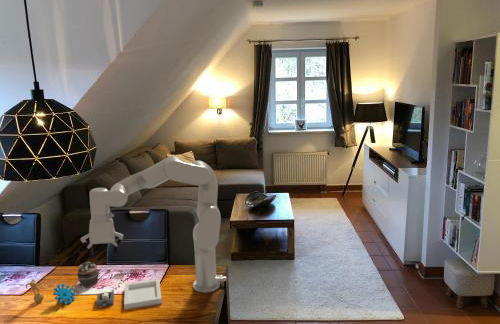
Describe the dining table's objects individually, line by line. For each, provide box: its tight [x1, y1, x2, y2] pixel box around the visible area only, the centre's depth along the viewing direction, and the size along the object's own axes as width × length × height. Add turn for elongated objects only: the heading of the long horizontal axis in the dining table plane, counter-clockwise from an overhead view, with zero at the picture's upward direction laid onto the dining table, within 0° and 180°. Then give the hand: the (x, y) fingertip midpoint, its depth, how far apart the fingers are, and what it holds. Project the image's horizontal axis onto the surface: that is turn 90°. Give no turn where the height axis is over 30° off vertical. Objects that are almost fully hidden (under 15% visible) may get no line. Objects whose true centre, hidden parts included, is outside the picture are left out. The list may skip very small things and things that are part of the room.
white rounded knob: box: [102, 291, 109, 299], centre depth 177 cm, size 3×4×4 cm
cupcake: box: [77, 260, 99, 288], centre depth 192 cm, size 10×10×10 cm
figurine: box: [25, 278, 45, 303], centre depth 176 cm, size 8×6×12 cm
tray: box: [123, 278, 163, 310], centre depth 181 cm, size 16×18×2 cm
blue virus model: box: [52, 283, 76, 305], centre depth 178 cm, size 11×6×10 cm
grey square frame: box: [95, 290, 115, 308], centre depth 176 cm, size 7×8×3 cm
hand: (103, 254), depth 172 cm, fingers open, 9 cm apart
